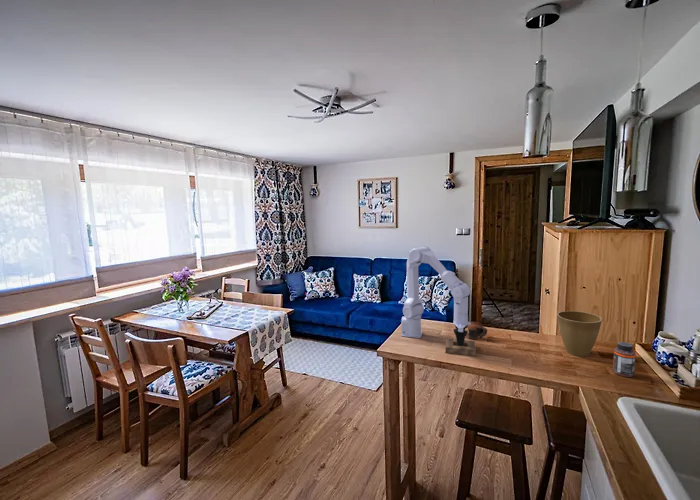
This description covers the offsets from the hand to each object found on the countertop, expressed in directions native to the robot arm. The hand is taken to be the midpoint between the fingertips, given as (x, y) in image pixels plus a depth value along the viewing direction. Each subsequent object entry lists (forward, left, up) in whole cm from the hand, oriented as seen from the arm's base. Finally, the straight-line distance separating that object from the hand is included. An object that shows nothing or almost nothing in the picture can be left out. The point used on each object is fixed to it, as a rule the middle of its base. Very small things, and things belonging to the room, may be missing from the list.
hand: (460, 342), depth 140 cm
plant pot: (+46, +9, -4) cm, 47 cm away
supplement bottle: (+56, -6, -4) cm, 56 cm away
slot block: (0, 0, -3) cm, 3 cm away
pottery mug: (+7, +17, -4) cm, 19 cm away
